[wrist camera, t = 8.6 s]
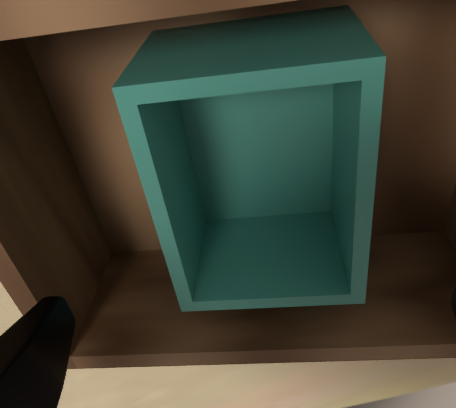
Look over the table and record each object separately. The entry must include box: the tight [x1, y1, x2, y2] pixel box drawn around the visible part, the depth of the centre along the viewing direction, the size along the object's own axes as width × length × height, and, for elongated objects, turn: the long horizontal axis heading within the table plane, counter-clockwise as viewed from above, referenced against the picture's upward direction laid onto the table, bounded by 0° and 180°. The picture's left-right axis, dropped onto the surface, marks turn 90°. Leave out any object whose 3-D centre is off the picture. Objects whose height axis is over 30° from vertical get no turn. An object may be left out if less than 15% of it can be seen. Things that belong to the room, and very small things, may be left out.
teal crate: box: [112, 5, 386, 312], centre depth 14 cm, size 6×8×5 cm
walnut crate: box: [0, 0, 456, 369], centre depth 14 cm, size 17×13×6 cm
